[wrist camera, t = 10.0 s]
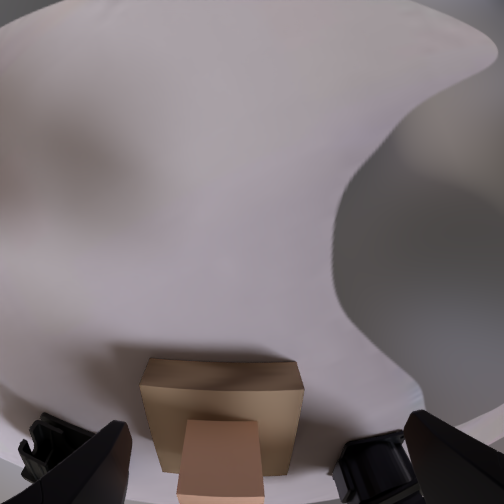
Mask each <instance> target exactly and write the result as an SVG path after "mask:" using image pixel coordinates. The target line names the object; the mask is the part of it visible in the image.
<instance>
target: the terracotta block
mask: <svg viewBox="0 0 504 504" xmlns="http://www.w3.org/2000/svg"><path fill="white" fill-rule="evenodd" d="M176 494H177V497H178V500H179V503H180V504H264V498H265V495H264V485H263V475H262V464H261V454H260V443H259V432H258V421H205V420H187V426H186V432H185V438H184V445H183V451H182V458H181V465H180V472H179V479H178V486H177V493H176Z"/></svg>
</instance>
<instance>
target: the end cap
mask: <svg viewBox="0 0 504 504" xmlns="http://www.w3.org/2000/svg"><path fill="white" fill-rule="evenodd" d="M40 419H41V420H36V421H35V422H34V423H33V425H32V426H30V429H29V431H30V434H31V437H32V440H33V442H34V449H33V451H32V452H31V449H30V447H29V444H28V442H27V440H25V439H23V441H22V442H20V445H19V447H18V451H19V454H20V456H21V458H22V460H23V462H24V464H25V467H24V469H23V471H22V473H21V475H22V477H23V478H24V479H25V480H27V481H29V482H31V483H35V482H36V481H37V480H39V479H41V477H43V476H44V475H45V474H46V473H48V472H49V471H50V470H52V469H53V468H54V467H55V466H57V465H58V464H59V463H61V462H62V461H63V460H64V459H66V458H67V457H68V456H69V455H71V454H72V453H73V452H74V451H76V450H77V449H78V448H79V447H81V446H82V445H83V444H84V443H86V442H87V441H88V440H89V439H91V438H92V437H93V436H94V435H95V434H94V433H92V432H89V431H87V430H84V429H82V428H79V427H77V426H74V425H72V424H70V423H67V422H65V421H63V420H60V419H58V418H56V417H54V416H52V415H50V414H47V413H45V412H44V413H42V415H41V416H40ZM128 477H129V471H128ZM127 485H128V478H127V484H126V488H125V492H124V496H123V500H122V503H121V504H124V501H125V496H126V491H127Z"/></svg>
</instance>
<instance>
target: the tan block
mask: <svg viewBox="0 0 504 504" xmlns="http://www.w3.org/2000/svg"><path fill="white" fill-rule="evenodd" d="M139 387H140V391H141V396H142V400H143V404H144V408H145V412H146V416H147V420H148V424H149V428H150V431H151V435H152V439H153V442H154V445H155V449H156V452H157V455H158V459H159V462H160V465H161V468H162V471H163V472H167V473H176V474H179V472H180V465H181V458H182V451H183V445H184V438H185V432H186V426H187V420H205V421H258V432H259V443H260V454H261V464H262V475H263V476H280V475H287V473H288V469H289V464H290V460H291V455H292V451H293V446H294V442H295V437H296V432H297V427H298V422H299V417H300V412H301V406H302V401H303V396H304V390H305V389H304V386H303V382H302V379H301V376H300V372H299V369H298V366H297V362H272V363H232V362H200V361H181V360H166V359H154V358H150V359H149V362H148V364H147V366H146V369H145V371H144V374H143V376H142V379H141V381H140V384H139Z"/></svg>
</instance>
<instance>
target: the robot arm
mask: <svg viewBox="0 0 504 504" xmlns="http://www.w3.org/2000/svg"><path fill="white" fill-rule="evenodd" d="M404 440H405V441H406V444H407V448H408V452H409V455H410V459H411V462H410V460H409V458H408V456H407V454H406V452H405V450H404V448H403V447H402V443H403V442H404ZM131 449H132V437H131V434H130V431H129V428H128V425H127V423H126V422H124V421H118V420H113V421H111V422H110V423H109V424H108V425H106V426H105V427H104V428H103V429H102V430H100V431H99V432H98V433H97V434H95V435H94V436H93V437H92V438H91V439H89V440H88V441H87V442H86V443H84V444H83V445H82V446H81V447H79V448H78V449H77V450H76V451H74V452H73V453H72V454H71V455H69V456H68V457H67V458H66V459H64V460H63V461H62V462H61V463H59V464H58V465H57V466H55V467H54V468H53V469H52V470H50V471H49V472H48V473H46V474H45V475H44V476H43V477H41V479H39V480H37V481H36V482H35V483H33V484H32V485H31V486H29V487H28V488H26V489H25V490H24V491H22V492H21V493H19V494H17V495H16V496H14V497H12V498H10V499H9V500H7V501H5V502H3V503H1V504H121V503H122V500H123V496H124V492H125V488H126V484H127V478H128V470H129V463H130V456H131ZM332 477H333V480H335V483H336V487H337V490H338V493H339V497H340V500H341V502H342V503H347V504H504V454H503V453H501V452H497V450H495V449H493V448H491V447H489V446H487V445H485V444H484V443H482V442H480V441H478V440H476V439H474V438H473V437H471V436H469V435H467V434H465V433H463V432H462V431H460V430H458V429H456V428H455V427H453V426H451V425H449V424H447V423H446V422H444V421H442V420H440V419H439V418H437V417H435V416H433V415H432V414H430V413H428V412H427V411H425V410H417V411H413V412H412V413H411V414H410V416H409V418H408V420H407V422H406V424H405V426H404V430H403V431H401V432H397V433H393V434H388V435H384V436H379V437H374V438H369V439H364V440H358V441H352V442H349V443H347V444H346V445H345V447H344V449H343V452H342V454H341V457H340V459H339V460H338V461H337V464H336V466H335V469H334V471H333V476H332ZM422 495H423V496H424V497H422Z"/></svg>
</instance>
